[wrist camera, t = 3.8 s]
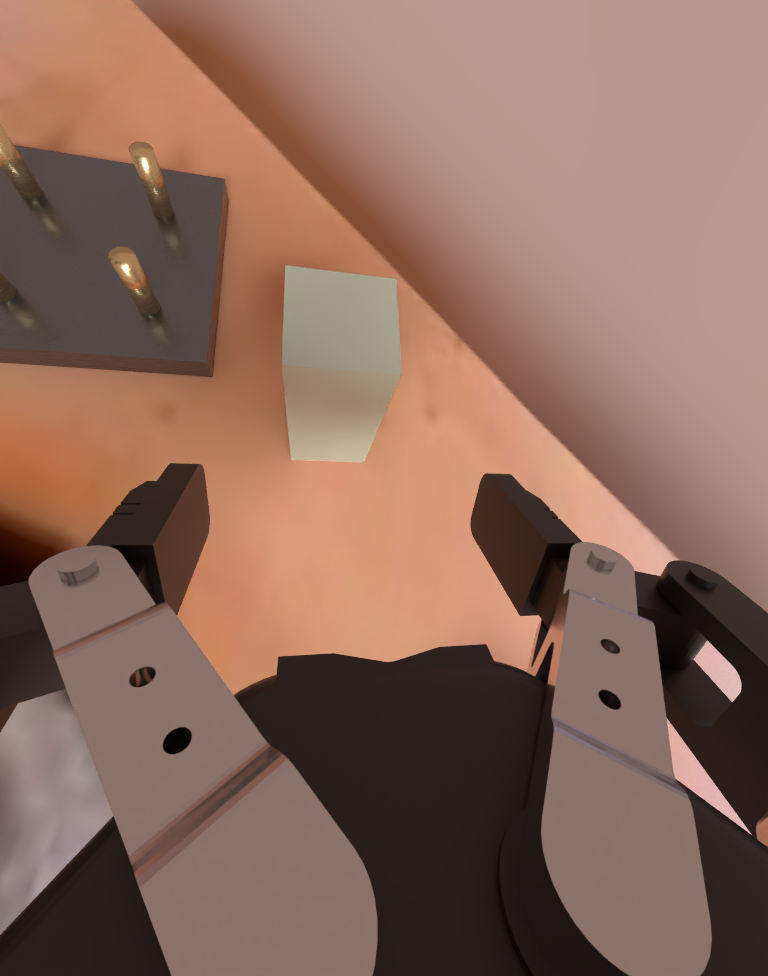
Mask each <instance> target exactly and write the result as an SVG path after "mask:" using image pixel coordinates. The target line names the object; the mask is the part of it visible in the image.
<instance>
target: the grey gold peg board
mask: <svg viewBox="0 0 768 976" xmlns="http://www.w3.org/2000/svg"><path fill="white" fill-rule="evenodd" d="M129 152H130V154H131V157H132V159H133V162H134V164H135V165H134V164H128V163H122V162H116V161H109V160H103V159H97V158H91V157H85V156H78V155H72V154H66V153H60V152H53V151H47V150H41V149H35V148H29V147H22V146H16V145H13V143H12V142H11V140H10V139H9V137H8V136H7V134H6V132H5V131H4V129H3V128H2V126H1V125H0V362H4V363H19V364H33V365H48V366H63V367H77V368H92V369H106V370H121V371H136V372H150V373H165V374H180V375H194V376H209V377H212V374H213V364H214V353H215V342H216V331H217V321H218V310H219V299H220V288H221V278H222V267H223V256H224V245H225V235H226V224H227V213H228V202H229V200H228V195H227V189H226V184H225V179H221V178H215V177H209V176H203V175H196V174H190V173H184V172H178V171H172V170H165V169H160V168H159V165H158V162H157V159H156V156H155V154H154V151H153V148H152V147H151V145H149V144H148V143H145V142H134V143H132V144H131V145H130V146H129Z"/></svg>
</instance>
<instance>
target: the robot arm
mask: <svg viewBox="0 0 768 976" xmlns="http://www.w3.org/2000/svg"><path fill="white" fill-rule="evenodd" d="M209 525H210V515H209V506H208V498H207V490H206V481H205V473H204V469H203V466H202V465H201V464H176V463H170V464H169V465H168V466H167V468H166V469H165V471H164V472H163V473H162V475H161V476H160V478H159V479H158V480H157V481H147V482H145V483H143V484H141V485H140V486H138V487H136V488H135V489H133V490H131V491H130V492H129V493H128V494H127V496H126V497H125V498H124V499H123V501H122V502H121V505H119V506H118V507H117V508H116V509H115V511H114V512H113V515H111V516H110V517H109V518H108V519H107V521H106V522H105V523H104V524H103V525H102V527H101V528H100V529H99V530H98V532H97V533H96V534H95V535H94V537H93V538H92V539H91V540H90V542H89V543H88V544H87V545H86V546H84V547H79V548H74V549H71V550H67V551H65V552H62V553H59V554H57V555H55V556H53V557H51V558H49V559H47V560H46V561H44V562H43V563H41V564H40V565H39V566H38V567H37V568H36V569H35V570H34V571H33V572H32V574H31V576H30V578H29V581H26V582H22V583H17V584H12V585H7V586H2V587H0V732H1V730H2V729H3V727H4V725H5V724H6V722H7V720H8V719H9V717H10V715H11V714H12V712H13V710H14V709H15V707H16V705H17V704H18V703H20V702H23V701H27V700H30V699H33V698H36V697H40V696H43V695H46V694H49V693H52V692H56V691H59V690H62V689H65V688H66V689H67V692H68V695H69V698H70V700H71V703H72V706H73V708H74V711H75V714H76V716H77V719H78V722H79V724H80V727H81V730H82V732H83V735H84V738H85V740H86V743H87V746H88V748H89V751H90V754H91V757H92V759H93V762H94V765H95V767H96V770H97V773H98V775H99V778H100V781H101V783H102V786H103V789H104V791H105V794H106V797H107V799H108V802H109V805H110V808H111V810H112V813H113V817H112V818H111V819H110V820H109V821H108V822H107V823H106V824H105V825H104V826H103V828H102V829H101V830H100V831H99V832H98V833H97V834H96V835H95V836H94V837H93V838H92V839H91V840H90V841H89V842H88V843H87V844H86V845H85V846H84V848H83V849H82V850H81V851H80V852H79V853H78V854H77V855H76V856H75V857H74V858H73V859H72V860H71V861H70V862H69V863H68V864H67V865H66V866H65V868H64V869H63V870H62V871H61V872H60V873H59V874H58V875H57V876H56V877H55V878H54V879H53V880H52V881H51V882H50V883H49V884H48V885H47V886H46V888H45V889H44V890H43V891H42V892H41V893H40V894H39V895H38V896H37V897H36V898H35V899H34V900H33V901H32V902H31V903H30V904H29V905H28V906H27V907H26V909H25V910H24V911H23V912H22V913H21V914H20V915H19V916H18V917H17V918H16V919H15V920H14V921H13V922H12V923H11V924H10V925H9V926H8V927H7V929H6V930H5V931H4V932H3V933H2V934H1V935H0V976H768V613H767V612H766V611H764V610H763V609H762V608H761V607H760V606H758V605H757V604H756V603H754V602H753V601H752V600H751V599H749V597H747V596H746V595H745V594H744V593H742V592H741V591H740V590H739V589H737V588H736V587H735V586H733V585H732V584H731V583H730V582H728V581H727V580H726V579H725V578H723V577H722V576H720V575H719V574H717V573H715V572H713V571H712V570H710V569H707V568H705V567H703V566H700V565H698V564H695V563H691V562H686V561H671V562H669V563H668V564H667V566H666V568H665V569H664V571H663V573H662V574H661V576H656V575H651V574H646V573H641V572H637V571H634V568H633V566H632V565H631V563H630V562H629V561H628V560H627V559H626V558H624V557H623V556H622V555H620V554H619V553H617V552H616V551H614V550H612V549H610V548H607V547H605V546H602V545H599V544H595V543H588V542H582V541H581V540H580V539H579V538H578V537H577V536H576V535H575V534H574V533H573V532H572V531H571V530H570V529H569V528H568V527H567V526H566V525H565V524H564V523H563V522H562V521H561V520H560V519H558V516H557V515H556V514H555V513H554V512H553V511H550V508H549V507H548V506H547V505H546V504H545V503H544V502H543V501H542V500H541V499H540V498H538V497H536V496H535V495H533V494H531V493H530V492H528V491H526V490H525V489H524V488H523V487H522V486H521V485H520V484H519V483H518V481H517V480H516V479H515V478H514V477H513V476H512V475H510V474H488V473H487V474H484V475H483V477H482V479H481V481H480V485H479V489H478V493H477V497H476V500H475V504H474V508H473V512H472V516H471V532H472V535H473V537H474V539H475V541H476V542H477V544H478V546H479V547H480V549H481V551H482V552H483V554H484V556H485V558H486V559H487V561H488V563H489V564H490V566H491V568H492V569H493V571H494V573H495V574H496V576H497V578H498V580H499V581H500V583H501V585H502V586H503V588H504V590H505V591H506V593H507V595H508V596H509V598H510V600H511V602H512V603H513V605H514V607H515V608H516V610H517V612H518V613H519V615H520V616H530V615H539V616H540V618H541V621H540V623H539V625H538V628H537V631H536V635H535V639H534V644H533V648H532V652H531V656H530V661H529V665H528V669H527V672H525V671H523V670H521V669H518V668H516V667H513V666H511V665H507V664H503V663H500V662H495V661H494V660H493V658H492V656H491V654H490V652H489V649H488V647H487V645H486V644H483V645H467V646H450V647H438V648H435V649H432V650H429V651H425V652H422V653H419V654H416V655H413V656H410V657H407V658H404V659H400V660H397V661H394V662H382V661H376V660H370V659H364V658H358V657H352V656H346V655H340V654H334V653H333V654H316V655H299V656H282V657H278V667H277V675H274V676H271V677H268V678H265V679H263V680H261V681H258V682H256V683H254V684H252V685H250V686H248V687H246V688H244V689H243V690H241V691H239V692H238V693H236V694H235V695H233V694H232V693H231V691H230V690H229V689H228V687H227V686H226V684H225V683H224V682H223V680H222V679H221V677H220V676H219V675H218V673H217V672H216V670H215V669H214V668H213V666H212V665H211V663H210V662H209V661H208V659H207V658H206V656H205V655H204V654H203V652H202V651H201V649H200V648H199V646H198V645H197V644H196V642H195V641H194V639H193V638H192V637H191V635H190V634H189V632H188V631H187V630H186V628H185V627H184V625H183V624H182V623H181V621H180V620H179V618H178V617H177V614H178V612H179V609H180V606H181V604H182V601H183V599H184V596H185V593H186V591H187V588H188V586H189V583H190V581H191V578H192V575H193V573H194V570H195V568H196V565H197V562H198V560H199V557H200V555H201V552H202V549H203V547H204V544H205V542H206V539H207V536H208V532H209ZM707 640H708V641H709V642H710V643H711V644H712V645H713V646H714V647H715V648H716V649H717V650H718V651H719V652H720V653H721V654H722V655H723V656H724V657H725V658H726V659H727V660H728V661H729V662H730V663H731V665H732V666H733V667H734V668H735V669H736V671H737V672H738V674H739V676H740V679H741V683H742V689H741V692H740V694H739V695H738V697H737V698H736V699H735V700H734V701H733V702H731V701H730V700H729V699H728V697H727V696H726V695H725V694H724V693H723V692H722V691H721V690H720V689H719V687H718V686H717V685H716V684H715V683H714V682H713V681H712V680H711V679H710V677H709V676H708V675H707V674H706V673H705V672H704V671H703V670H702V669H701V667H700V666H699V665H698V664H697V663H696V662H695V661H694V660H693V659H694V658H695V656H696V655H697V654H698V652H699V651H700V650H701V648H702V647H703V645H704V644H705V643H706V641H707ZM666 717H667V719H668V720H669V721H670V723H671V724H672V725H673V727H674V728H675V730H676V731H677V732H678V734H679V735H680V736H681V738H682V739H683V741H684V742H685V743H686V745H687V746H688V747H689V749H690V750H691V752H692V753H693V754H694V756H695V757H696V758H697V760H698V761H699V763H700V764H701V765H702V767H703V768H704V769H705V771H706V772H707V774H708V775H709V776H710V778H711V779H712V780H713V782H714V783H715V785H716V786H717V787H718V789H719V790H720V791H721V793H722V794H723V796H724V797H725V798H726V800H727V801H728V802H729V804H730V805H731V807H732V808H733V809H734V811H735V812H736V813H737V815H738V816H739V818H740V819H741V820H742V822H743V823H744V824H745V826H746V827H747V829H748V830H749V831H750V833H751V834H752V835H753V836H752V835H751V834H749V833H748V832H747V831H745V830H744V829H743V828H741V827H740V826H739V825H737V824H736V823H735V822H733V821H732V820H731V819H729V818H728V817H726V816H725V815H724V814H722V813H721V812H720V811H718V810H717V809H716V808H714V807H713V806H712V805H710V804H709V803H708V802H706V801H705V800H703V799H702V798H701V797H699V796H698V795H697V794H695V793H694V792H693V791H691V790H690V789H689V788H687V787H686V786H685V785H683V784H682V783H681V782H679V781H678V780H676V779H675V776H674V772H673V766H672V758H671V750H670V742H669V734H668V727H667V719H666Z"/></svg>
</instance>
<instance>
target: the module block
mask: <svg viewBox="0 0 768 976" xmlns="http://www.w3.org/2000/svg"><path fill="white" fill-rule="evenodd" d="M281 366H282V376H283V386H284V396H285V406H286V416H287V426H288V436H289V446H290V456H291V460H305V461H338V462H364V461H365V459H366V456H367V454H368V452H369V449H370V447H371V445H372V442H373V440H374V438H375V435H376V433H377V431H378V428H379V426H380V424H381V421H382V419H383V417H384V414H385V412H386V410H387V407H388V405H389V403H390V400H391V398H392V396H393V393H394V391H395V389H396V386H397V384H398V382H399V379H400V377H401V375H402V373H401V354H400V335H399V317H398V298H397V280H396V279H393V278H385V277H377V276H369V275H361V274H353V273H345V272H337V271H328V270H320V269H312V268H304V267H296V266H288V265H285V288H284V313H283V339H282V364H281Z"/></svg>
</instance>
